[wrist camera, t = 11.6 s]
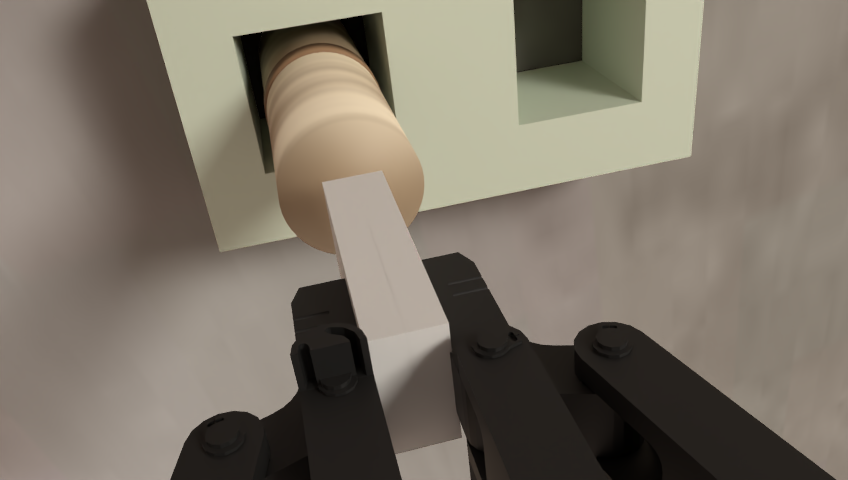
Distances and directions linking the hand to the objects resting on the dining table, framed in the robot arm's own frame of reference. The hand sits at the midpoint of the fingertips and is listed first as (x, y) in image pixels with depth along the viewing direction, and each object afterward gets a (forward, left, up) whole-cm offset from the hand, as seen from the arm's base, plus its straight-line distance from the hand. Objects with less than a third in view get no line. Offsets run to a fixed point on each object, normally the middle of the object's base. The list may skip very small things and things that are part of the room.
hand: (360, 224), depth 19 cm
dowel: (0, 0, -16) cm, 16 cm away
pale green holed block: (0, +5, -16) cm, 17 cm away
